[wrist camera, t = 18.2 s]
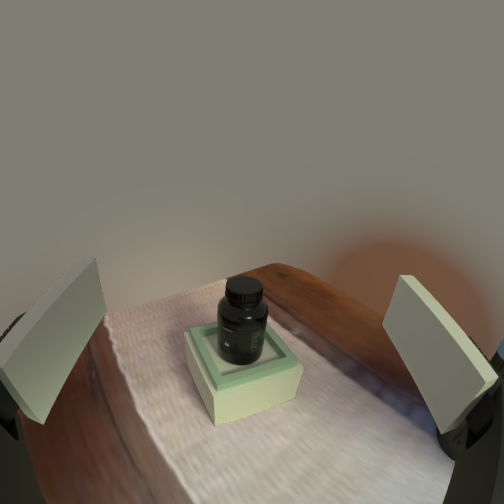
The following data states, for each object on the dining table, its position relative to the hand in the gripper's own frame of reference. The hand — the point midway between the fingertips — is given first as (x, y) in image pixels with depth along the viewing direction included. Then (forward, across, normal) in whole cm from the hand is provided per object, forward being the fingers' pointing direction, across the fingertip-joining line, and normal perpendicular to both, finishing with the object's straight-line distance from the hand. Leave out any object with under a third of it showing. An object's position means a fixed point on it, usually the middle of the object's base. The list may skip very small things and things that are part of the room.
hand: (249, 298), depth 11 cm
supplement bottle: (+21, +1, -24) cm, 32 cm away
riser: (+21, +1, -32) cm, 38 cm away
